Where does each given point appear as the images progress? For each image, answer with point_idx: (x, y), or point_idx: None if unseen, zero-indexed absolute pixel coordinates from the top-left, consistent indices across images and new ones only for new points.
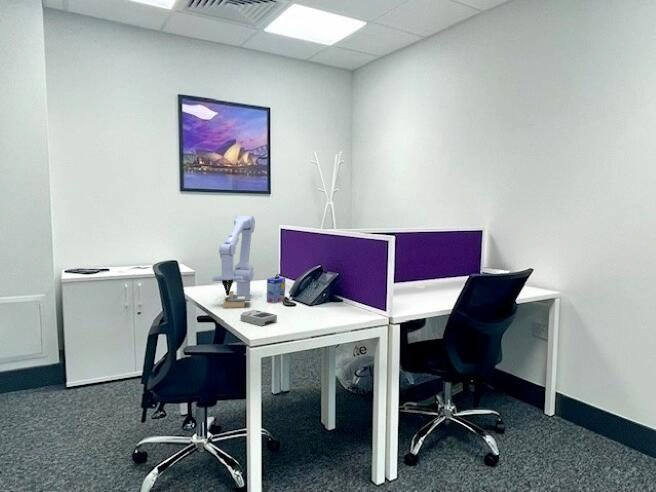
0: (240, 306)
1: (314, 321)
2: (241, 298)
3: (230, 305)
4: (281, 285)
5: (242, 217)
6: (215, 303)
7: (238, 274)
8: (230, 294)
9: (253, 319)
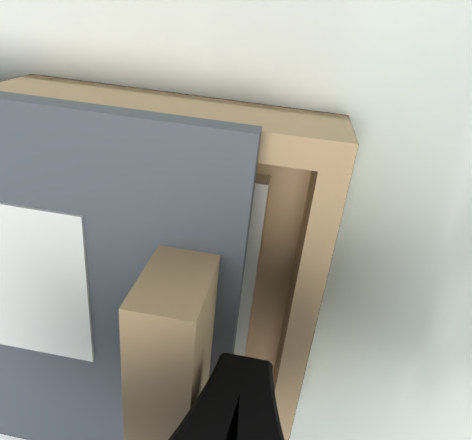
0: (76, 83)
1: None
2: (4, 207)
3: (229, 110)
4: None
5: None
6: (402, 409)
7: None
8: (183, 306)
9: None
